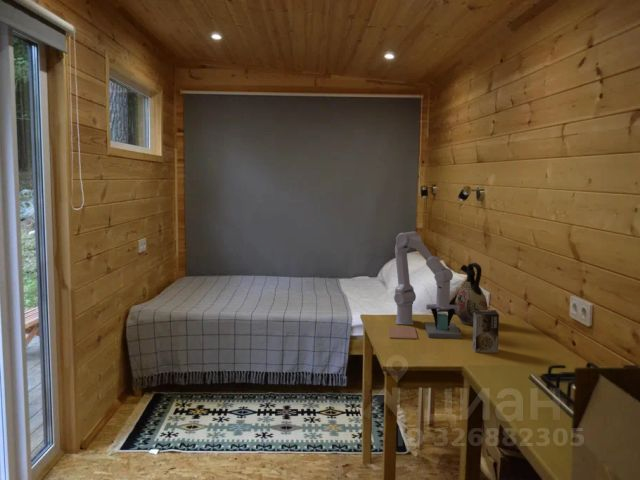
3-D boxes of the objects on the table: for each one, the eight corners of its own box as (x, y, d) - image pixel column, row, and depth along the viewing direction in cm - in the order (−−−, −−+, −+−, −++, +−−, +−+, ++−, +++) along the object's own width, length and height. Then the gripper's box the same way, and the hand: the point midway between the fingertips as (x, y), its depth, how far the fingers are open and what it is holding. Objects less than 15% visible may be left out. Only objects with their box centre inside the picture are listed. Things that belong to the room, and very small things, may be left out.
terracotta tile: (388, 328, 248) (388, 326, 247) (414, 328, 246) (414, 327, 246) (389, 338, 232) (389, 337, 232) (417, 339, 231) (417, 337, 231)
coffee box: (494, 348, 219) (496, 309, 217) (498, 353, 213) (499, 314, 211) (471, 347, 220) (473, 309, 218) (474, 352, 214) (476, 313, 212)
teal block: (436, 330, 244) (437, 313, 244) (445, 330, 244) (446, 313, 243) (438, 334, 239) (438, 316, 238) (447, 334, 238) (447, 316, 237)
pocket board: (424, 326, 251) (424, 321, 251) (454, 326, 250) (454, 322, 249) (428, 337, 233) (428, 333, 233) (461, 338, 232) (461, 334, 232)
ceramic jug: (447, 320, 260) (449, 260, 256) (472, 317, 267) (474, 258, 263) (470, 329, 245) (473, 265, 241) (496, 326, 251) (499, 263, 248)
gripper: (427, 297, 236) (426, 327, 238) (461, 298, 235) (460, 328, 236) (426, 293, 243) (425, 322, 245) (458, 294, 242) (457, 323, 243)
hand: (442, 325), depth 241 cm, fingers open, 5 cm apart
